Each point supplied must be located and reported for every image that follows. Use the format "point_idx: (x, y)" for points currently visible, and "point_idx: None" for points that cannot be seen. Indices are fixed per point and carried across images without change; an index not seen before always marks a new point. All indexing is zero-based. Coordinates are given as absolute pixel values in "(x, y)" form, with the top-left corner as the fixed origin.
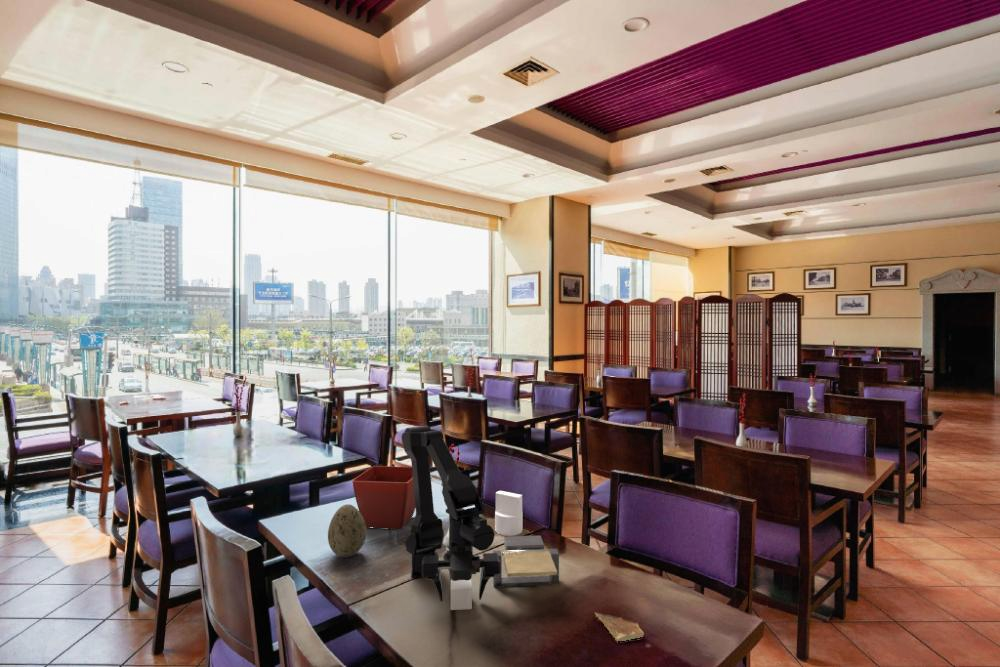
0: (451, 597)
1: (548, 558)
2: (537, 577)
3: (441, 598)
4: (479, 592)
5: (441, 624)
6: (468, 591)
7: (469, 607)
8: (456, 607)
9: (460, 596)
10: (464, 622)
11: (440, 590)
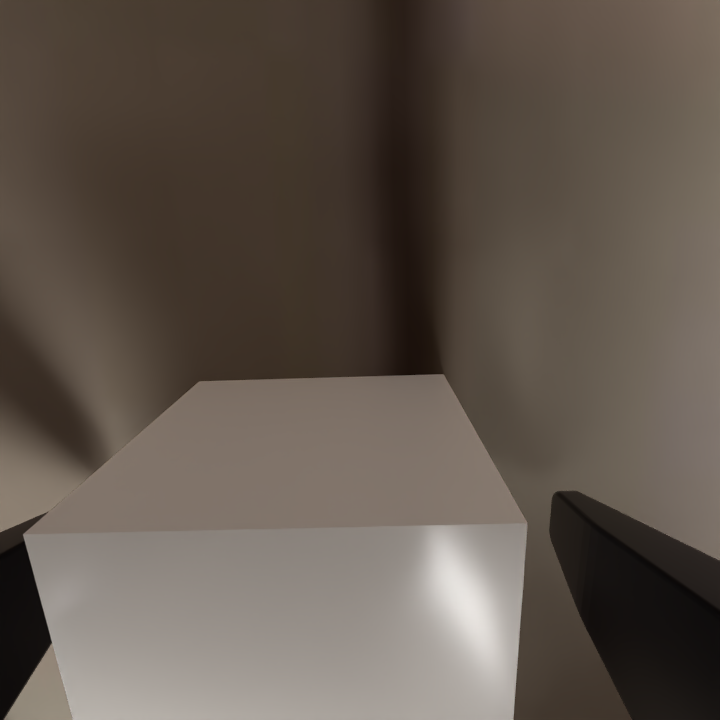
0: (463, 438)
1: None
2: None
3: (588, 503)
4: (25, 561)
5: (566, 40)
6: (130, 495)
7: (218, 387)
8: (375, 383)
9: (309, 448)
10: (260, 79)
11: (691, 576)
